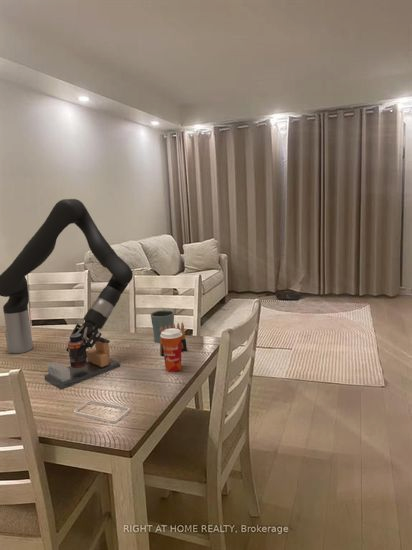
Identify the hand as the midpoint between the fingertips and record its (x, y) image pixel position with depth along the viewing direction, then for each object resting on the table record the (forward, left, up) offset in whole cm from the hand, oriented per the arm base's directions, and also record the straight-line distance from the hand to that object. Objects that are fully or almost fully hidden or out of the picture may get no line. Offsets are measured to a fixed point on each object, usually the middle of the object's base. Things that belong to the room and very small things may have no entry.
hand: (73, 353), depth 140 cm
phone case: (+10, -29, -9) cm, 32 cm away
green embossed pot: (+34, +27, -8) cm, 44 cm away
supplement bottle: (+1, +1, -5) cm, 5 cm away
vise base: (+3, +2, -8) cm, 9 cm away
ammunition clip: (+36, +10, -8) cm, 39 cm away
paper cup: (+34, -5, -8) cm, 36 cm away
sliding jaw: (+8, +6, -6) cm, 12 cm away
